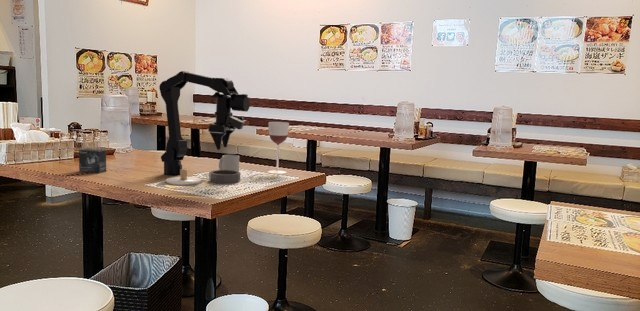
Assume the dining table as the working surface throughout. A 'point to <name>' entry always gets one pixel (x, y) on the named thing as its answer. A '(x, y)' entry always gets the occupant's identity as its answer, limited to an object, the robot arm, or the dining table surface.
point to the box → (92, 160)
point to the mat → (183, 185)
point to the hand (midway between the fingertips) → (222, 148)
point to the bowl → (224, 176)
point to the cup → (229, 162)
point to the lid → (183, 179)
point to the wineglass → (278, 138)
